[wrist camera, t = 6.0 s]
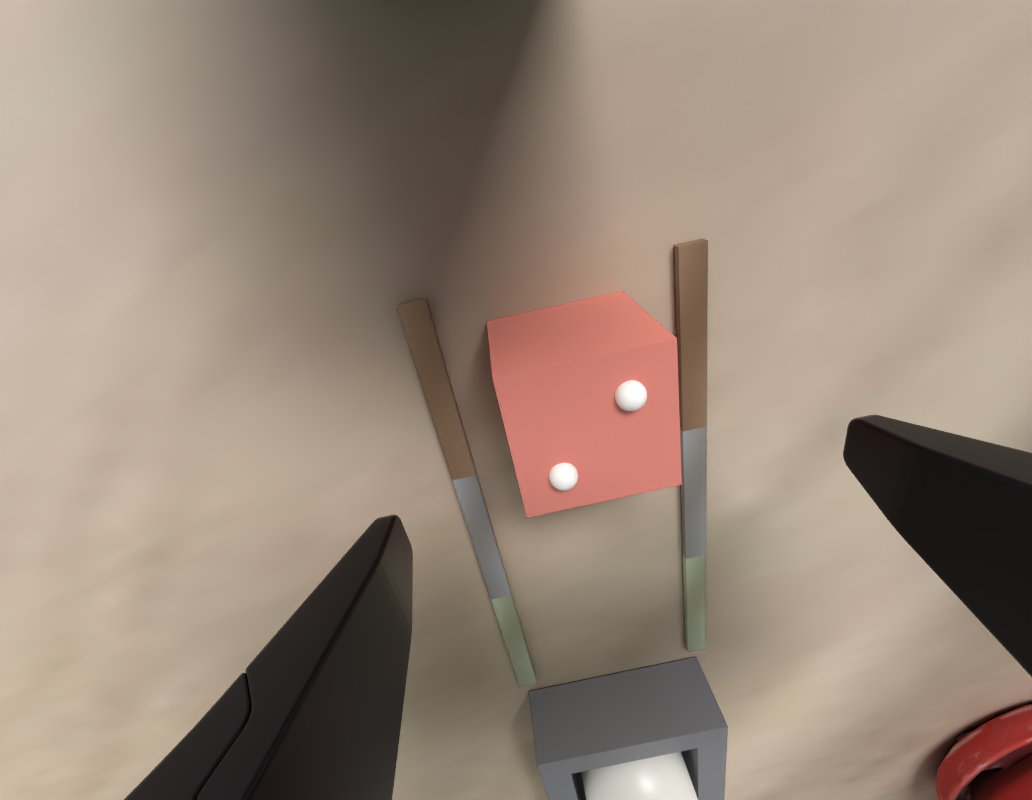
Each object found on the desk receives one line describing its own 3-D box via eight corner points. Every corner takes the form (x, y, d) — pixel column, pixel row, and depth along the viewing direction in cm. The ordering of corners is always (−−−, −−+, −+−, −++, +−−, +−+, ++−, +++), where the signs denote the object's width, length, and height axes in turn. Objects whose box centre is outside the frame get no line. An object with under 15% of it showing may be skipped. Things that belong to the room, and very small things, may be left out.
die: (621, 290, 13) (684, 345, 9) (632, 408, 15) (688, 494, 11) (486, 320, 13) (493, 386, 10) (513, 434, 15) (528, 528, 11)
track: (702, 238, 13) (707, 240, 12) (702, 642, 21) (705, 648, 21) (397, 304, 13) (396, 307, 13) (518, 680, 21) (519, 686, 21)
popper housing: (696, 656, 22) (727, 726, 19) (696, 744, 25) (723, 813, 23) (528, 691, 22) (537, 765, 19) (554, 773, 25) (564, 845, 23)
